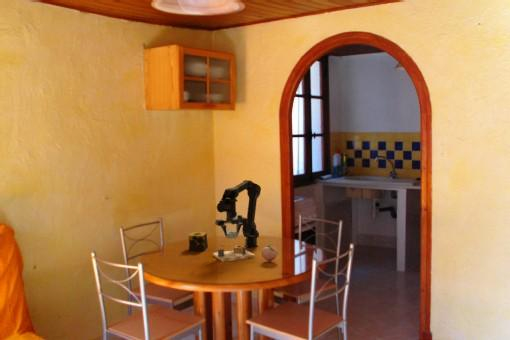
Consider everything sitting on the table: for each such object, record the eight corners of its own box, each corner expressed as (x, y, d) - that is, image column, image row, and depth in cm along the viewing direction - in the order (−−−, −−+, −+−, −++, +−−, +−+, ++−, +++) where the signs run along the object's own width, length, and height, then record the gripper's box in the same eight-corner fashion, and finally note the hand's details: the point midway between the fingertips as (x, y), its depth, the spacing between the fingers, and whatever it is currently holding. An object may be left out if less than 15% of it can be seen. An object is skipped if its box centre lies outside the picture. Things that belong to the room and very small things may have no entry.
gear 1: (235, 235, 299) (235, 230, 299) (239, 237, 293) (239, 232, 293) (224, 236, 297) (224, 231, 296) (228, 239, 290) (228, 234, 290)
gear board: (244, 251, 301) (243, 243, 301) (254, 257, 287) (254, 248, 286) (213, 255, 293) (213, 247, 292) (222, 261, 278) (222, 253, 278)
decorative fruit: (258, 261, 277) (258, 244, 276) (269, 259, 282) (269, 241, 281) (268, 265, 270) (268, 247, 269) (280, 262, 275) (280, 244, 274)
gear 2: (241, 249, 300) (240, 244, 299) (247, 251, 294) (247, 246, 294) (231, 251, 296) (231, 246, 295) (237, 253, 290) (237, 248, 290)
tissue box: (208, 247, 313) (207, 231, 312) (204, 251, 303) (204, 235, 302) (192, 247, 314) (191, 231, 313) (188, 251, 304) (188, 235, 303)
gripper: (220, 213, 282) (221, 240, 284) (250, 210, 290) (251, 236, 291) (214, 210, 293) (215, 236, 294) (243, 207, 300) (244, 233, 301)
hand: (231, 235), depth 295 cm, fingers closed on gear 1, 7 cm apart
